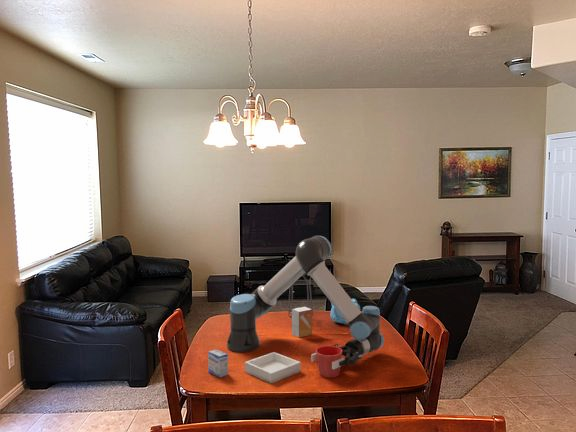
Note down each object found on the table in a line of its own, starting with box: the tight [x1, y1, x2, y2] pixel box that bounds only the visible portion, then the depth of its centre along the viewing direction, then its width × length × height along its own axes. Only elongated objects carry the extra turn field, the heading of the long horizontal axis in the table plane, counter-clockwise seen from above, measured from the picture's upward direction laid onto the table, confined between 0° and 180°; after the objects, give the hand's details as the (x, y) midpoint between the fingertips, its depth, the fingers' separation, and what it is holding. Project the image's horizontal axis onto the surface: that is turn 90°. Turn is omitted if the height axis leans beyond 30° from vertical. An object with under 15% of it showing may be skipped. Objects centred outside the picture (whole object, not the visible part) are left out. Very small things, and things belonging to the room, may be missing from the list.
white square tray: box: [244, 351, 302, 384], centre depth 199 cm, size 16×16×4 cm
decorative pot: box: [329, 298, 361, 326], centre depth 264 cm, size 16×16×14 cm
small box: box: [291, 306, 313, 338], centre depth 243 cm, size 8×6×13 cm
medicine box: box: [207, 349, 229, 378], centre depth 197 cm, size 8×4×9 cm, turn 45°
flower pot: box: [315, 345, 343, 378], centre depth 196 cm, size 11×11×10 cm
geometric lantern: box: [287, 273, 314, 319], centre depth 263 cm, size 16×16×35 cm
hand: (322, 361), depth 193 cm, fingers open, 10 cm apart
